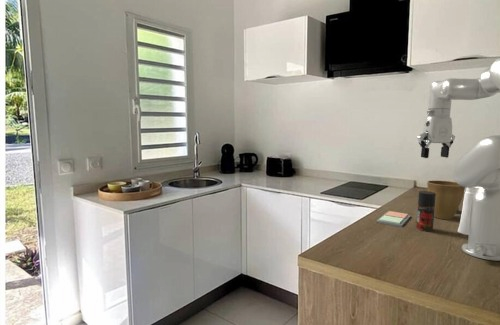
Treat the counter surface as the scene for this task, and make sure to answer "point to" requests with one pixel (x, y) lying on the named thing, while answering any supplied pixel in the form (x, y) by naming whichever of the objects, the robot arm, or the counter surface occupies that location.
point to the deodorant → (425, 210)
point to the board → (394, 218)
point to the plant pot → (446, 198)
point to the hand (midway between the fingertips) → (434, 157)
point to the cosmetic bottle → (466, 211)
